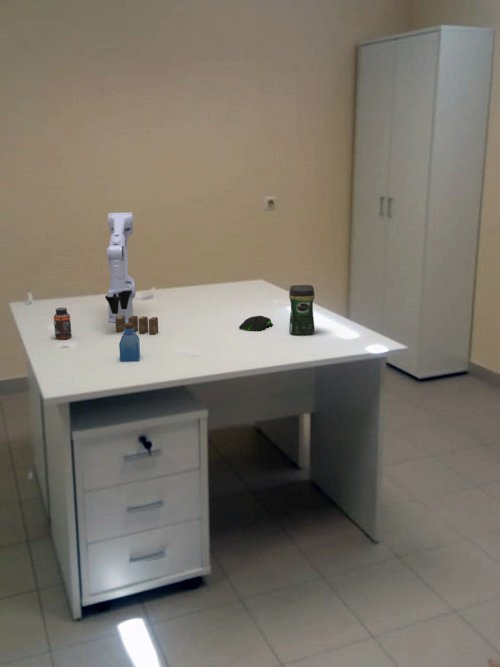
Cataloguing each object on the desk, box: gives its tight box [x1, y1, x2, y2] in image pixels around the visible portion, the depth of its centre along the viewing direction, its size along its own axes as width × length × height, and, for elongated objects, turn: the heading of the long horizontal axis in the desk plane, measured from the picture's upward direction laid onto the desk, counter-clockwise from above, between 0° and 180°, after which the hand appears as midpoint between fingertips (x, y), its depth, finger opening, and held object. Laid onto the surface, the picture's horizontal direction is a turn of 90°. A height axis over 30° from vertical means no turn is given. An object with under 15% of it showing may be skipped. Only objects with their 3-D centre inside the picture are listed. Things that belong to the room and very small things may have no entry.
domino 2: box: [138, 315, 149, 335], centre depth 274 cm, size 2×4×6 cm, turn 163°
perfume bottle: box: [118, 323, 141, 363], centre depth 241 cm, size 6×6×12 cm
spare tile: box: [114, 315, 126, 333], centre depth 277 cm, size 2×4×6 cm, turn 162°
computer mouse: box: [238, 315, 274, 332], centre depth 283 cm, size 11×16×4 cm
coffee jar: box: [288, 284, 316, 336], centre depth 270 cm, size 10×8×19 cm
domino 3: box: [148, 316, 159, 336], centre depth 273 cm, size 2×4×6 cm, turn 163°
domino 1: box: [128, 315, 139, 333], centre depth 275 cm, size 2×4×6 cm, turn 163°
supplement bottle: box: [53, 307, 72, 341], centre depth 267 cm, size 6×6×11 cm
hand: (119, 311), depth 276 cm, fingers open, 7 cm apart
